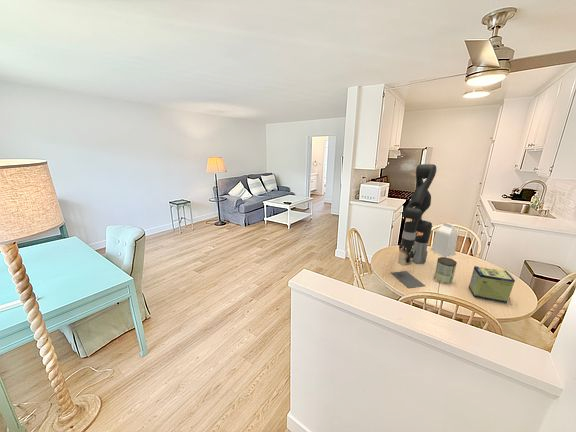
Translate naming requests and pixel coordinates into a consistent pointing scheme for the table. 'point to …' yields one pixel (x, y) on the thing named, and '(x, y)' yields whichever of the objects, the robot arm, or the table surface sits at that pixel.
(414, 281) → the mat
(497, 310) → the table surface
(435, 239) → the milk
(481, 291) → the protein box
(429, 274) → the table surface
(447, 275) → the coffee can
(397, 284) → the table surface
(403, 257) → the block
